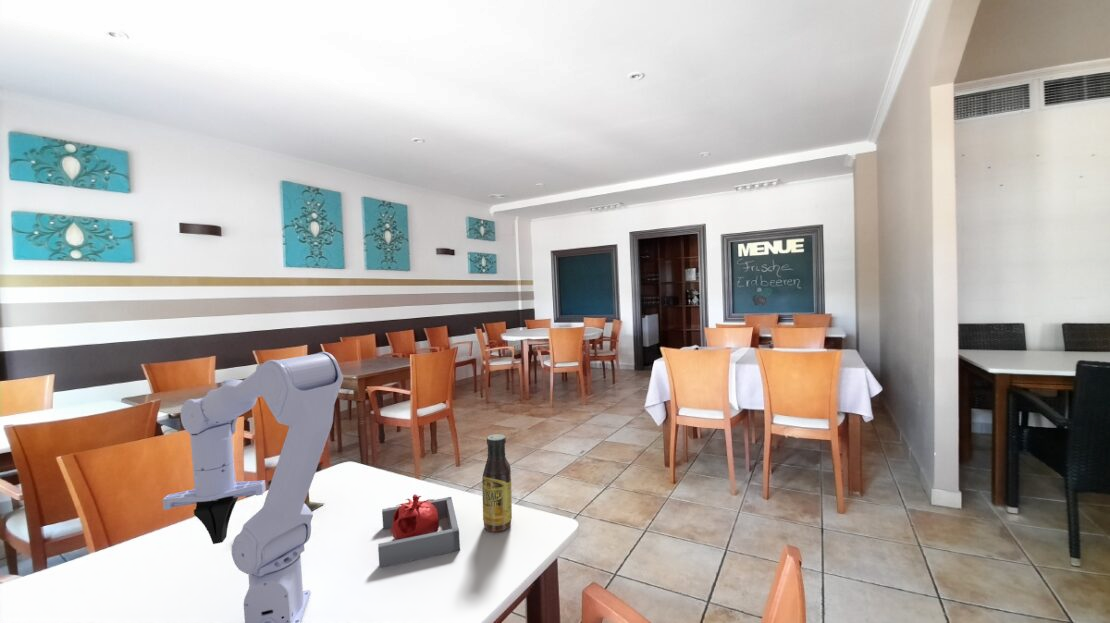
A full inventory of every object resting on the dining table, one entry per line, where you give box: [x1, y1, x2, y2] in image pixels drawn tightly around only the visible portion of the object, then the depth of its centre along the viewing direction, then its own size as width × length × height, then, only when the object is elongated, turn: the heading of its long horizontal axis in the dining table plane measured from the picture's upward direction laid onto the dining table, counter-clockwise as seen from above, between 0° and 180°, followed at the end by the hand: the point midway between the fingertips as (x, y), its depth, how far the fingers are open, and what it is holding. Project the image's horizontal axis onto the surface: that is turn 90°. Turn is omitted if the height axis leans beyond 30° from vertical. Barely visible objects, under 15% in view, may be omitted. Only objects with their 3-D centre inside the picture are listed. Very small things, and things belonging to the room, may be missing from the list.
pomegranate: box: [390, 494, 440, 541], centre depth 94 cm, size 10×10×9 cm
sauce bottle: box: [481, 433, 513, 533], centre depth 97 cm, size 7×6×20 cm
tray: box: [377, 496, 461, 569], centre depth 94 cm, size 16×15×4 cm
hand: (219, 540), depth 79 cm, fingers closed
